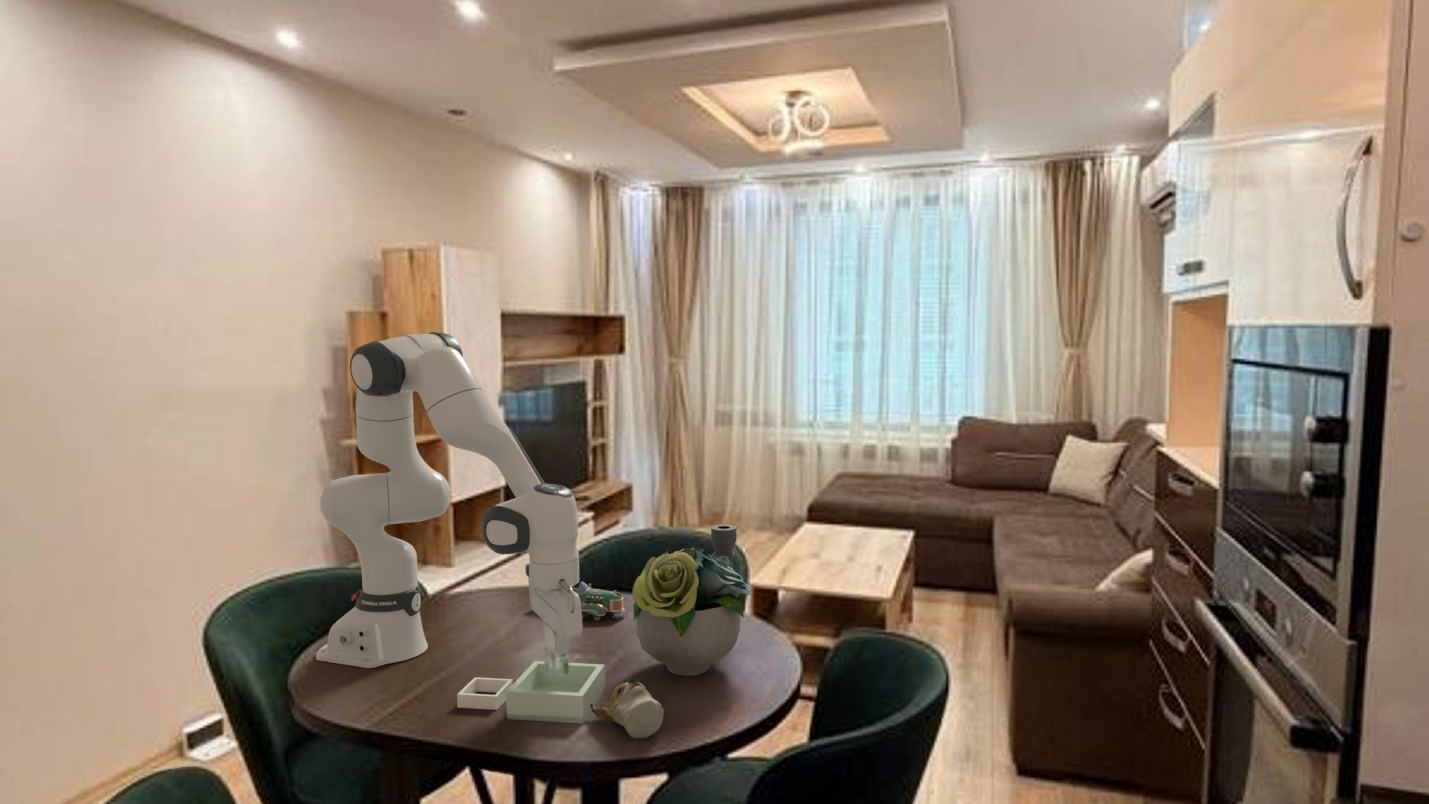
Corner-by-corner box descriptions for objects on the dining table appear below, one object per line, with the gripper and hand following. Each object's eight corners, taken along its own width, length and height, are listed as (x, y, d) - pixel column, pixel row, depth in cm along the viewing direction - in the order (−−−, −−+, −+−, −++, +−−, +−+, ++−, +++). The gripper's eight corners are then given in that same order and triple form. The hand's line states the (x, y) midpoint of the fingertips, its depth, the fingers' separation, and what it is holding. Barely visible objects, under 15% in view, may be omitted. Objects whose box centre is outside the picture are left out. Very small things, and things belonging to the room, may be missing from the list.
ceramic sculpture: (621, 699, 132) (585, 673, 145) (623, 752, 133) (587, 721, 145) (679, 684, 138) (639, 661, 151) (680, 735, 138) (640, 707, 151)
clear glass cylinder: (541, 677, 148) (540, 628, 147) (548, 667, 152) (547, 620, 152) (565, 677, 148) (564, 628, 147) (571, 668, 152) (570, 620, 151)
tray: (506, 718, 145) (506, 691, 144) (535, 686, 159) (534, 660, 158) (583, 723, 143) (582, 696, 142) (605, 689, 157) (604, 664, 156)
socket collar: (457, 707, 149) (457, 694, 149) (475, 690, 157) (475, 677, 157) (497, 709, 148) (496, 696, 148) (513, 692, 156) (512, 679, 156)
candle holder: (717, 643, 180) (716, 531, 179) (706, 634, 186) (705, 525, 184) (742, 638, 183) (742, 529, 181) (731, 630, 189) (730, 523, 187)
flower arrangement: (664, 639, 183) (663, 531, 181) (767, 657, 172) (767, 543, 170) (602, 680, 161) (600, 559, 159) (716, 704, 150) (715, 574, 148)
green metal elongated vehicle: (615, 625, 192) (615, 591, 192) (523, 615, 200) (522, 582, 200) (632, 612, 202) (632, 579, 201) (543, 603, 209) (542, 571, 209)
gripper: (590, 585, 141) (592, 663, 142) (554, 559, 159) (556, 628, 160) (555, 591, 138) (557, 670, 139) (522, 563, 156) (524, 634, 157)
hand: (556, 647), depth 150 cm, fingers closed on clear glass cylinder, 4 cm apart
